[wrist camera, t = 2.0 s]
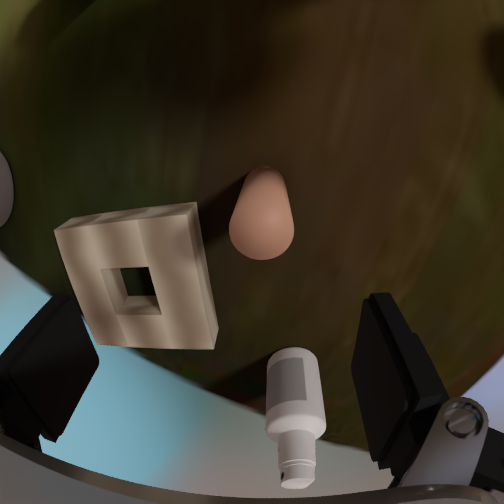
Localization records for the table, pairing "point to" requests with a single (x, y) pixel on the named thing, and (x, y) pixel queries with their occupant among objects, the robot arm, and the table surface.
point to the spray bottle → (294, 413)
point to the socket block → (161, 269)
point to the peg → (262, 216)
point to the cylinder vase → (5, 190)
